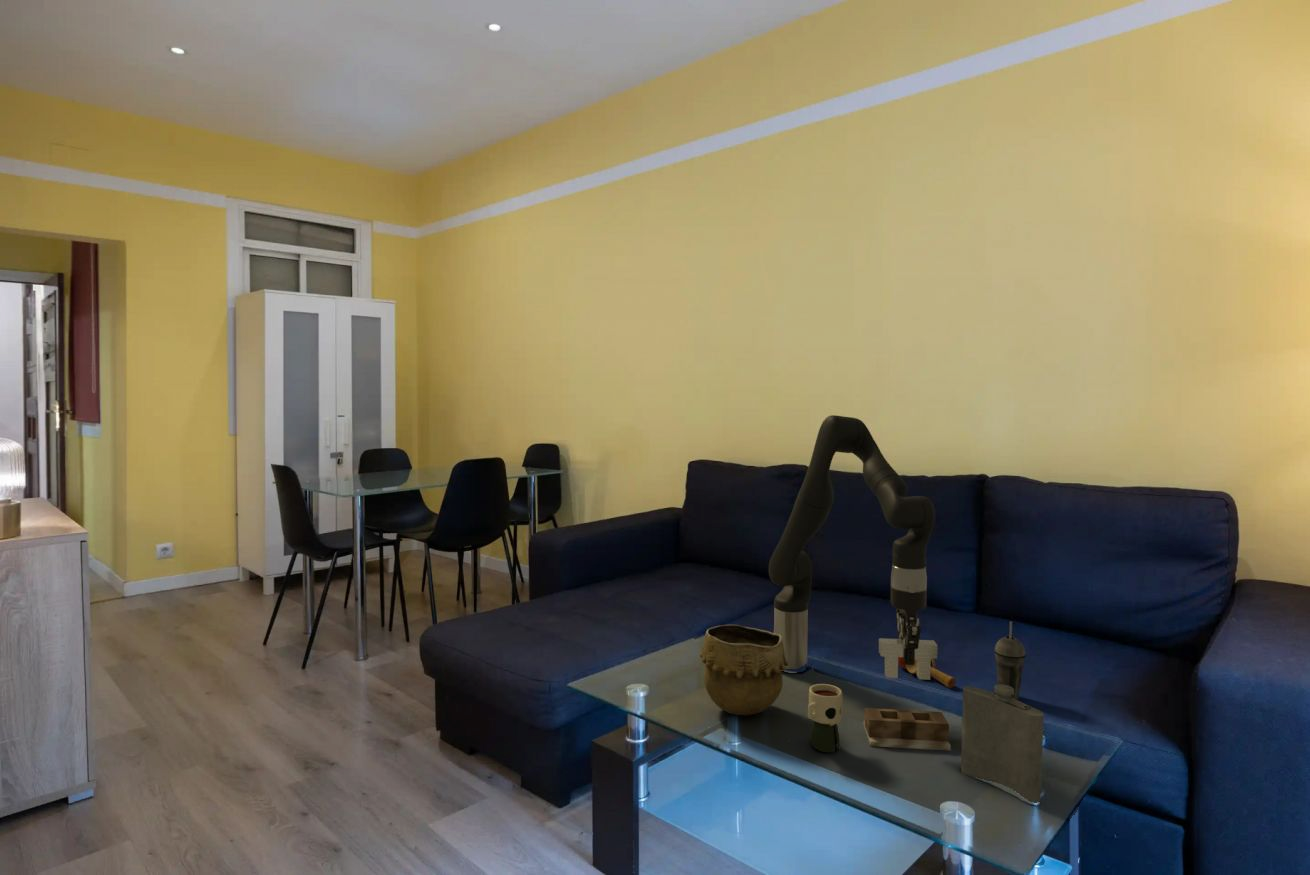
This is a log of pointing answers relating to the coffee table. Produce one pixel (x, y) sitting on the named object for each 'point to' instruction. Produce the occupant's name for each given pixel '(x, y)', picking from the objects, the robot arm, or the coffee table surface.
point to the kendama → (934, 672)
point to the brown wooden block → (906, 729)
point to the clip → (895, 649)
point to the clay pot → (743, 668)
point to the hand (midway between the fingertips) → (907, 660)
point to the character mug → (825, 716)
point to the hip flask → (1002, 740)
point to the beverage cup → (1010, 662)
